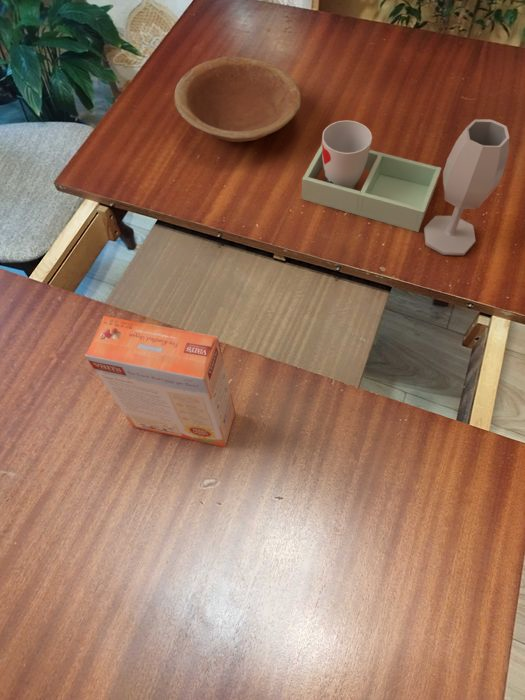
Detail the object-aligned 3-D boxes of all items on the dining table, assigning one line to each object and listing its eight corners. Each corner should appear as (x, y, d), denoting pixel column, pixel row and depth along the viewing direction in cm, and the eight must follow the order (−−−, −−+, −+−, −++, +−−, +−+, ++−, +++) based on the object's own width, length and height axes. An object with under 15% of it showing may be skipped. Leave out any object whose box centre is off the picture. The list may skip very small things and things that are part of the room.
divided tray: (435, 188, 97) (441, 167, 93) (418, 232, 92) (424, 212, 88) (323, 159, 102) (324, 138, 98) (301, 199, 98) (302, 178, 93)
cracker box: (237, 410, 78) (220, 334, 60) (225, 449, 75) (204, 382, 57) (145, 390, 80) (103, 311, 62) (131, 427, 77) (82, 356, 59)
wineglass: (429, 212, 95) (462, 106, 76) (479, 225, 93) (526, 119, 74) (416, 249, 91) (447, 146, 72) (468, 263, 89) (514, 161, 71)
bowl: (262, 183, 100) (260, 148, 93) (158, 144, 107) (149, 108, 100) (320, 109, 110) (322, 72, 103) (221, 77, 116) (217, 40, 109)
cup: (321, 165, 100) (324, 119, 91) (365, 168, 99) (373, 121, 91) (317, 197, 96) (320, 152, 88) (363, 200, 95) (370, 155, 87)
